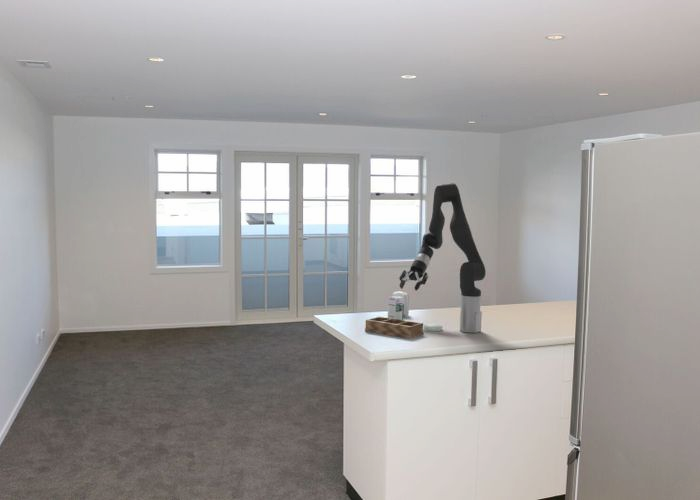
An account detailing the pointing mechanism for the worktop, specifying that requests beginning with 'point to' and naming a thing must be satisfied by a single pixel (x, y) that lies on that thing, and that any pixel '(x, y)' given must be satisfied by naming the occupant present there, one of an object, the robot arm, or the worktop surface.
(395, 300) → the syrup box
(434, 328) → the dish
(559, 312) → the worktop surface
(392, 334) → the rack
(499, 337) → the worktop surface
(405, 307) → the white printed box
